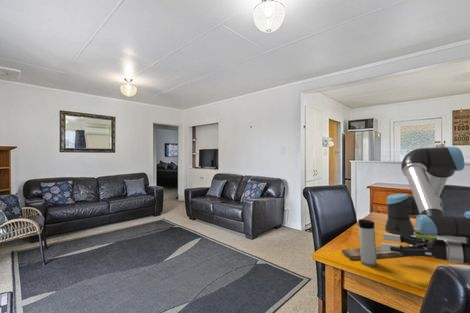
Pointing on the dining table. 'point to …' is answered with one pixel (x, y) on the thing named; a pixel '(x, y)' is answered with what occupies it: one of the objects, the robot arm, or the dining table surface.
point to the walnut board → (356, 255)
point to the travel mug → (367, 242)
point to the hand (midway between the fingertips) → (381, 241)
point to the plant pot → (425, 236)
